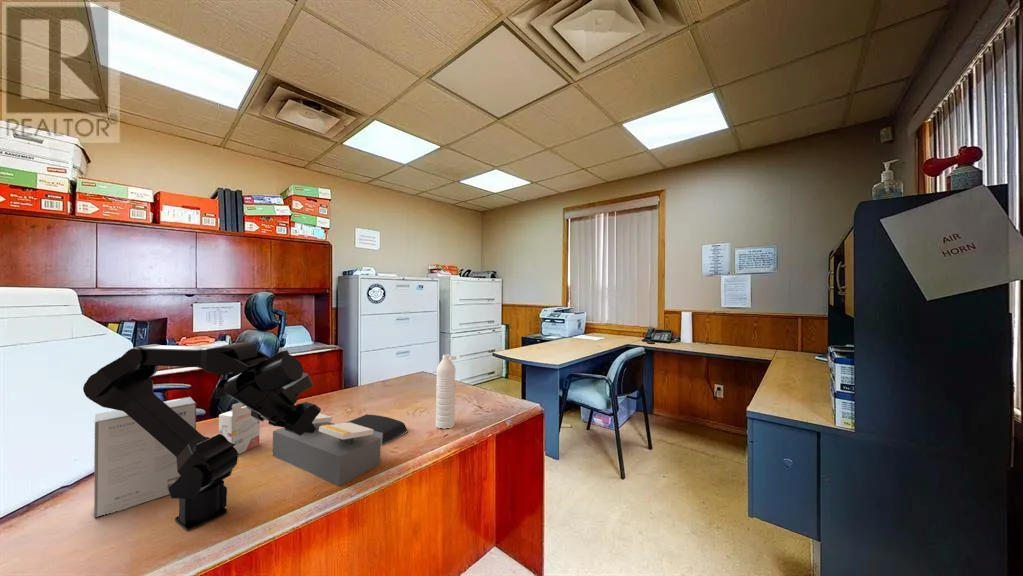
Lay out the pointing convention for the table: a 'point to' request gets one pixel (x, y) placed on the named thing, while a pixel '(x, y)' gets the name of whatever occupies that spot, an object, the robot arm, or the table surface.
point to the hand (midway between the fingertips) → (310, 429)
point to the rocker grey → (322, 418)
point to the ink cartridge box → (240, 428)
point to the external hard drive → (381, 426)
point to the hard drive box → (132, 460)
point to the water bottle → (445, 392)
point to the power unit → (327, 453)
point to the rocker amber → (345, 430)
